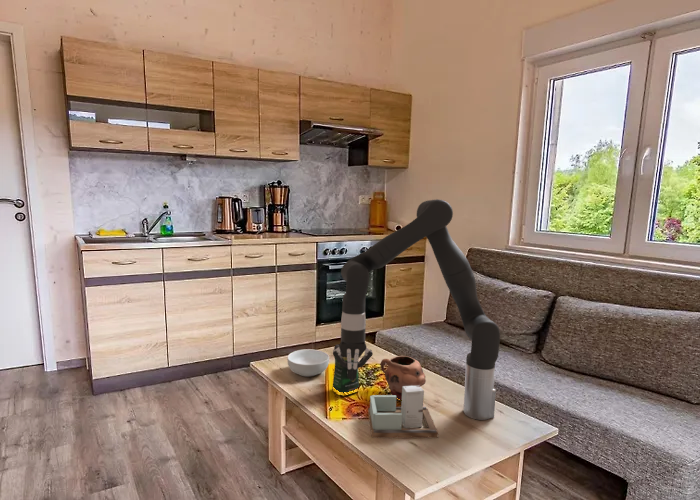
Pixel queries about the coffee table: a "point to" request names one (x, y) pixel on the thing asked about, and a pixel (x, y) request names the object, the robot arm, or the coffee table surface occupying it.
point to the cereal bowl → (308, 362)
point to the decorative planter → (402, 373)
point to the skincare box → (412, 406)
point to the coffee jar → (344, 376)
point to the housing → (384, 419)
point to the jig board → (406, 432)
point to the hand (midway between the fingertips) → (351, 379)
